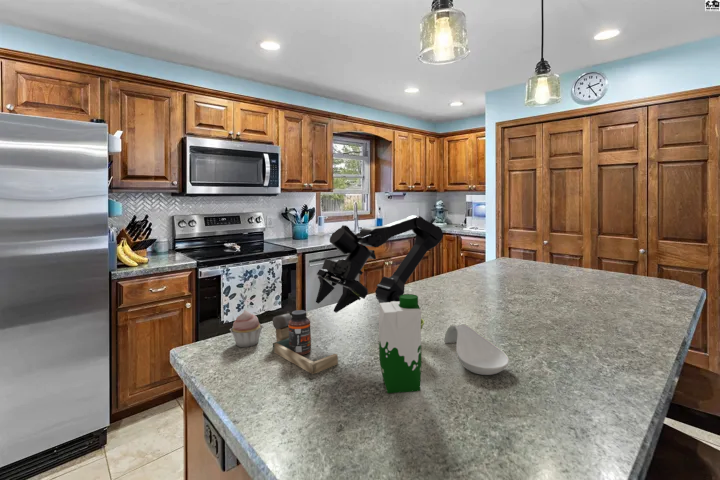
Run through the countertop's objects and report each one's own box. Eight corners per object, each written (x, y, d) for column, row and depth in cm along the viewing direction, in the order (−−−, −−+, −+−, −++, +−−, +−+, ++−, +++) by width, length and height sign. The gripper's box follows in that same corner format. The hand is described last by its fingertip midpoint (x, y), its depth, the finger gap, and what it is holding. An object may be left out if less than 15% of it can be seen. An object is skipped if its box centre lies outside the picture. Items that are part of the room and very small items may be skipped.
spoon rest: (519, 378, 84) (519, 348, 83) (471, 385, 82) (471, 354, 81) (469, 340, 107) (469, 316, 106) (431, 344, 105) (430, 320, 104)
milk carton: (425, 393, 78) (424, 301, 76) (383, 396, 77) (381, 303, 75) (415, 373, 87) (414, 291, 85) (377, 376, 86) (375, 292, 84)
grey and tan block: (295, 342, 108) (294, 313, 107) (280, 347, 105) (278, 317, 104) (289, 339, 111) (287, 310, 110) (273, 344, 108) (272, 314, 107)
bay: (337, 364, 93) (337, 354, 93) (312, 374, 88) (312, 364, 88) (296, 344, 107) (296, 335, 107) (273, 351, 102) (272, 343, 102)
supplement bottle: (303, 357, 98) (301, 316, 96) (285, 354, 100) (283, 314, 99) (315, 349, 103) (313, 309, 102) (297, 346, 105) (295, 307, 104)
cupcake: (253, 335, 115) (251, 304, 114) (269, 342, 109) (267, 309, 108) (225, 343, 109) (222, 310, 108) (239, 352, 102) (237, 317, 101)
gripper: (320, 242, 113) (290, 285, 109) (358, 253, 99) (326, 302, 94) (342, 262, 120) (315, 303, 115) (380, 275, 105) (351, 322, 101)
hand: (325, 307), depth 106 cm, fingers open, 9 cm apart
